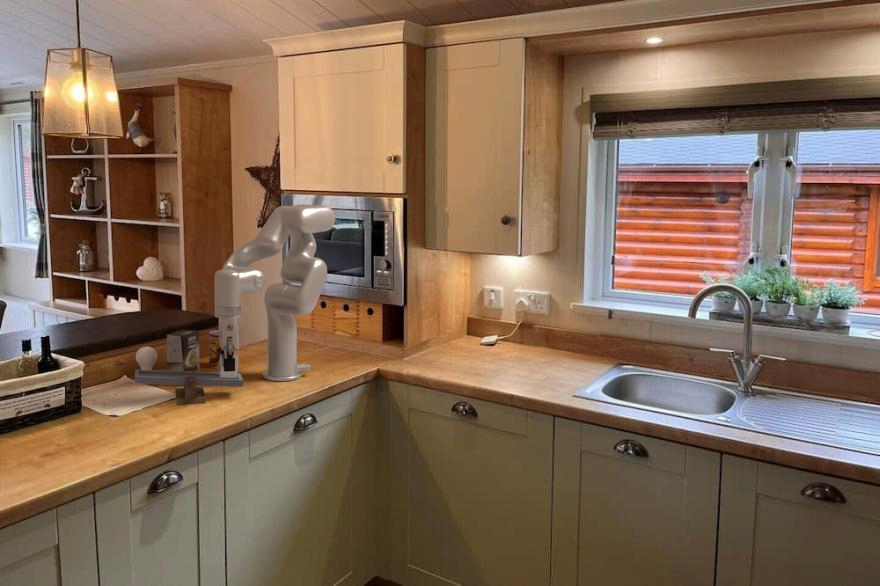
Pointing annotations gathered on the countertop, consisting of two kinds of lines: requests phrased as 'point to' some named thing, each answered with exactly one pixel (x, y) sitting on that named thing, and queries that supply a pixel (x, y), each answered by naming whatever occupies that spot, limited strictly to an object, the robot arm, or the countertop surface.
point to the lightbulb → (146, 358)
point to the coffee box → (183, 350)
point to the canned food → (214, 349)
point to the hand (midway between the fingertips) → (227, 367)
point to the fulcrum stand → (190, 391)
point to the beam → (179, 378)
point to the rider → (230, 374)
